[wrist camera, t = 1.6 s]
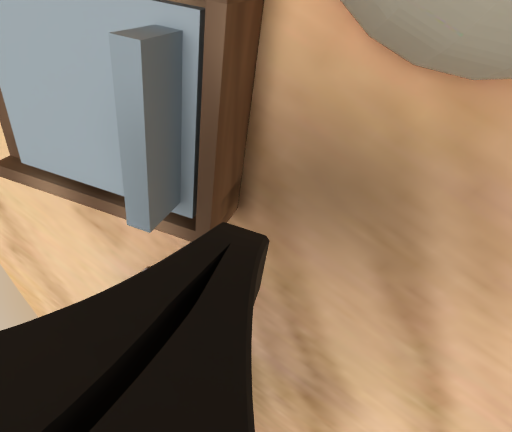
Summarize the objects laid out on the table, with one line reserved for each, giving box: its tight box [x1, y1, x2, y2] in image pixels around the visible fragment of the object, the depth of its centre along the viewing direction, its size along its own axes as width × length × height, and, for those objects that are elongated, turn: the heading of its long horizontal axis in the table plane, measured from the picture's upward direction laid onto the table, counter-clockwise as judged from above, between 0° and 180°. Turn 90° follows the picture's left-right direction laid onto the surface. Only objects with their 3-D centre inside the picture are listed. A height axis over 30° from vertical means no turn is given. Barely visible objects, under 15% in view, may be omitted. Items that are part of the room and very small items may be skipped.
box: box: [0, 0, 264, 242], centre depth 18 cm, size 14×12×4 cm
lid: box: [0, 0, 205, 233], centre depth 16 cm, size 11×10×4 cm
